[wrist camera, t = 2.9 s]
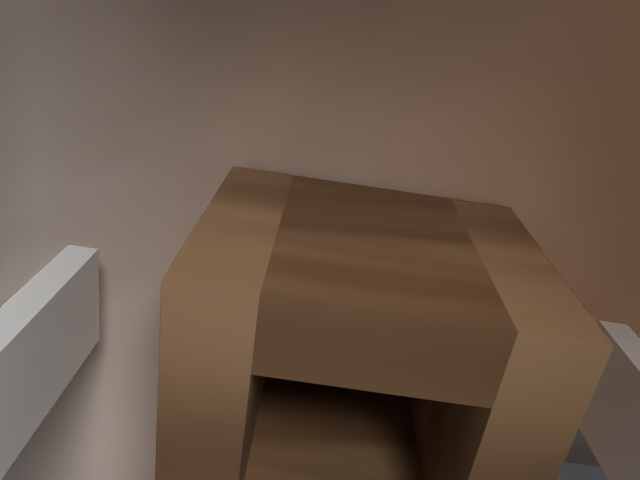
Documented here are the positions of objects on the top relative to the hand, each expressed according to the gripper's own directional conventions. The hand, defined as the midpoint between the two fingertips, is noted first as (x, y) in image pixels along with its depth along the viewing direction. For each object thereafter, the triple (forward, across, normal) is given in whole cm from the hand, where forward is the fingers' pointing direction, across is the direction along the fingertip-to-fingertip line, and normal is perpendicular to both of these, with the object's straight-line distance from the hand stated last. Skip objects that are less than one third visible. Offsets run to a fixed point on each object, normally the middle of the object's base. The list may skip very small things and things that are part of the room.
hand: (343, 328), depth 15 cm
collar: (+1, 0, 0) cm, 1 cm away
